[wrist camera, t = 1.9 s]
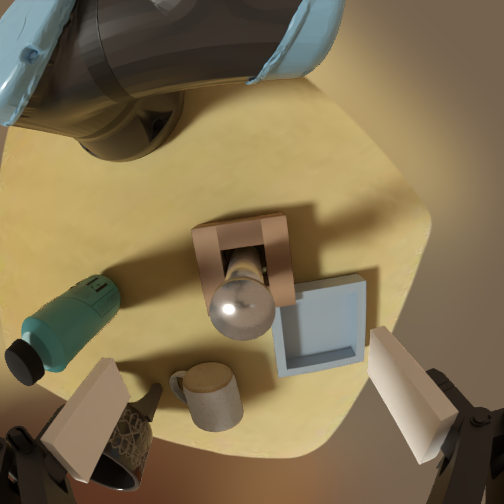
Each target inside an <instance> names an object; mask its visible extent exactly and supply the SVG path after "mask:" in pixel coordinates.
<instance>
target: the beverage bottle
mask: <svg viewBox="0 0 504 504" xmlns="http://www.w3.org/2000/svg"><path fill="white" fill-rule="evenodd" d="M88 277H89V276H88ZM85 279H86V278H85ZM80 282H81V283H80ZM80 282H78V283H77V284H78V285H76V284H75V285H76V286H73V287H71V288H70V289H69V290H68V291H67V292H65V293H64V294H62V295H60V296H59V297H57V298H56V299H55V298H54V300H53V301H51V302H49V303H47V305H46V304H45V305H44V307H43V308H42V309H40V310H38V311H37V312H36V313H35V314H33V315H32V316H29V317H28V318H26V319H25V320H24V322H23V324H22V330H21V334H22V339H17V340H16V341H14V342H13V343H12V345H11V346H10V347H9V348H8V349H7V350H6V351H5V360H6V363H7V365H8V368H9V369H10V371H11V372H12V374H13V375H14V376H15V377H16V378H17V379H18V380H19V381H20V382H21V383H23V384H24V385H27V386H31V385H33V384H34V383H36V382H37V381H38V380H40V379H41V378H42V377H43V376H44V374H45V370H47V371H50V372H55V373H56V372H61V371H63V370H64V369H65V368H66V366H67V364H68V363H69V362H70V361H71V360H72V359H73V358H74V357H75V356H76V355H77V353H78V352H79V351H80V350H81V349H82V348H83V347H84V346H85V345H86V344H87V343H88V342H89V341H90V340H91V339H92V338H93V337H94V336H95V335H96V334H97V333H98V332H99V331H100V330H101V329H102V328H103V327H104V326H105V325H106V324H107V322H108V321H109V320H110V319H111V318H112V317H113V316H114V315H115V314H116V313H117V312H118V310H119V307H120V302H121V299H120V294H119V291H118V289H117V287H116V285H115V284H114V283H113V282H112V281H111V280H110V279H109V278H107V277H105V276H103V275H92V276H90V277H89V278H87V279H86V280H84V281H80ZM116 315H117V314H116ZM116 315H115V316H116ZM115 316H114V317H115ZM114 317H113V318H114ZM113 318H112V319H113ZM112 319H111V320H112ZM111 320H110V321H111ZM110 321H109V322H110ZM109 322H108V323H109ZM102 330H103V329H102Z"/></svg>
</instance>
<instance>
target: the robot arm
mask: <svg viewBox="0 0 504 504" xmlns="http://www.w3.org/2000/svg"><path fill="white" fill-rule="evenodd" d="M344 5H345V0H15V2H14V3H13V4H12V5H11V6H10V7H9V9H8V10H7V11H6V12H5V14H4V15H3V16H2V18H1V19H0V124H1V125H3V126H6V127H9V126H16V127H22V128H28V129H33V130H38V131H44V132H49V133H54V134H59V135H63V136H68V137H72V138H74V139H75V140H77V141H78V142H79V143H80V145H81V146H82V147H83V148H84V149H85V150H86V151H87V152H88V153H89V154H91V155H92V156H94V157H96V158H99V159H102V160H106V161H112V162H127V161H132V160H135V159H138V158H141V157H143V156H145V155H147V154H149V153H150V152H152V151H153V150H154V149H156V148H157V147H158V146H159V145H161V144H162V143H163V142H164V141H165V140H166V138H167V137H168V136H169V135H170V133H171V132H172V131H173V129H174V127H175V126H176V124H177V122H178V120H179V117H180V115H181V112H182V108H183V103H184V90H187V89H194V88H200V87H208V86H216V85H225V84H236V83H245V84H246V85H251V84H256V83H258V82H260V81H264V80H277V79H294V78H299V77H302V76H305V75H307V74H308V73H310V72H311V71H312V70H314V69H315V67H317V66H318V65H320V63H321V62H322V61H323V60H324V58H325V57H326V55H327V54H328V52H329V51H330V49H331V47H332V45H333V43H334V40H335V38H336V35H337V33H338V30H339V26H340V23H341V20H342V16H343V11H344ZM367 373H368V375H369V376H370V378H371V380H372V382H373V383H374V385H375V386H376V388H377V390H378V392H379V393H380V395H381V397H382V398H383V400H384V402H385V404H386V405H387V407H388V409H389V411H390V412H391V414H392V416H393V418H394V419H395V421H396V423H397V425H398V426H399V428H400V430H401V432H402V434H403V435H404V437H405V439H406V441H407V443H408V445H409V446H410V448H411V450H412V452H413V454H414V456H415V457H416V459H417V461H418V463H419V464H422V463H424V462H426V461H429V460H431V459H433V458H435V457H436V456H437V454H438V452H439V450H440V449H441V450H442V452H443V453H444V456H443V457H442V459H441V461H440V462H439V464H438V466H437V467H436V468H439V470H438V473H437V476H436V479H435V482H434V485H433V487H432V490H431V493H430V495H429V498H428V500H427V503H426V504H481V501H482V497H483V493H484V489H485V485H486V503H485V504H504V408H502V409H499V410H495V411H492V412H491V411H489V410H488V409H486V408H483V407H476V408H474V407H473V406H472V405H471V403H470V402H469V401H468V400H467V399H466V398H465V397H464V396H463V394H462V393H461V392H460V391H459V390H458V389H457V388H456V387H455V386H454V384H453V383H452V382H451V381H449V379H448V378H447V377H446V376H445V375H444V374H443V373H442V372H440V371H438V370H436V369H434V368H433V369H430V370H428V371H424V370H423V369H422V367H421V366H420V365H419V364H418V363H417V362H416V361H415V359H414V358H413V357H412V356H411V355H410V354H409V353H408V352H407V350H406V349H405V348H404V347H403V346H402V345H401V344H400V343H399V342H398V340H397V339H396V338H395V337H394V336H393V335H392V334H391V333H390V332H389V331H388V329H387V328H386V327H385V326H382V327H378V328H373V329H370V346H369V359H368V370H367ZM130 397H131V396H130V394H129V392H128V390H127V388H126V386H125V384H124V382H123V379H122V377H121V375H120V373H119V370H118V368H117V366H116V363H115V361H114V359H113V358H101V360H100V361H99V362H98V363H97V365H96V366H95V367H94V368H93V370H92V371H91V372H90V373H89V375H88V376H87V377H86V378H85V380H84V381H83V382H82V384H81V385H80V386H79V387H78V389H77V390H76V391H75V393H74V394H73V395H72V397H71V398H70V399H69V400H68V402H67V403H66V404H64V405H62V406H61V407H60V408H58V409H57V410H56V412H55V413H54V414H53V417H51V418H50V420H49V422H47V424H46V425H45V426H44V428H43V429H42V431H41V432H40V433H39V435H38V436H37V437H36V439H35V440H34V439H33V438H32V437H31V435H30V434H29V432H28V431H27V430H26V429H25V428H24V427H22V426H15V427H13V428H11V429H10V430H9V431H8V432H7V434H6V437H5V438H6V440H7V441H8V442H9V443H10V445H11V446H10V445H9V444H8V442H7V441H6V440H5V439H4V438H2V437H0V504H77V503H76V500H75V498H74V495H73V492H72V489H71V485H70V482H69V480H68V478H67V477H66V474H67V472H69V474H70V475H71V476H72V477H73V478H74V479H77V480H79V481H82V482H85V483H88V481H89V479H90V477H91V475H92V473H93V471H94V468H95V466H96V464H97V462H98V460H99V458H100V456H101V454H102V452H103V450H104V448H105V446H106V444H107V442H108V440H109V438H110V436H111V434H112V432H113V430H114V428H115V426H116V424H117V422H118V420H119V418H120V416H121V414H122V412H123V410H124V408H125V407H126V405H127V403H128V401H129V399H130ZM8 474H10V475H11V476H12V477H13V478H14V482H12V481H11V480H10V479H8Z"/></svg>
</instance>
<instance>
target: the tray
mask: <svg viewBox="0 0 504 504" xmlns="http://www.w3.org/2000/svg"><path fill="white" fill-rule="evenodd" d="M294 290H295V300H296V305H289V306H283V307H276V314H275V319H274V322H273V324H272V333H273V340H274V348H275V356H276V363H277V370H278V377H279V378H280V377H287V376H293V375H299V374H305V373H311V372H316V371H321V370H326V369H331V368H336V367H340V366H345V365H349V364H353V363H357V362H361V361H364V350H365V330H366V280H365V279H364V278H362V277H361V276H360V275H359V274H352V275H346V276H340V277H334V278H328V279H322V280H316V281H310V282H304V283H297V284H294Z"/></svg>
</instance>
